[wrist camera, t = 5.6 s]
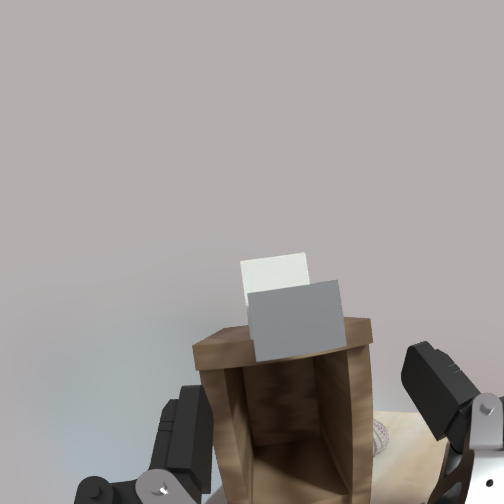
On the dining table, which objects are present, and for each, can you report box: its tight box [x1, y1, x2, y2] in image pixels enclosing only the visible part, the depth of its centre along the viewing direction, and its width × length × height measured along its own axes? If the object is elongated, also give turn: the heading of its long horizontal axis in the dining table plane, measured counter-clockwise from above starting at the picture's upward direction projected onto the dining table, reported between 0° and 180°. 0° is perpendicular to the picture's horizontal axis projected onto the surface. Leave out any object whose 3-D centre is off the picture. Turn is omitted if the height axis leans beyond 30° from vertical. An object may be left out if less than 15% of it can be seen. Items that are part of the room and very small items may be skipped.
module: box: [241, 253, 347, 362], centre depth 22 cm, size 5×21×6 cm, turn 179°
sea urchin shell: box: [373, 419, 389, 456], centre depth 44 cm, size 13×14×8 cm
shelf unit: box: [192, 317, 373, 504], centre depth 27 cm, size 14×21×32 cm
